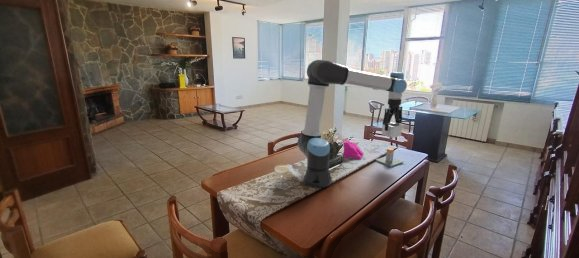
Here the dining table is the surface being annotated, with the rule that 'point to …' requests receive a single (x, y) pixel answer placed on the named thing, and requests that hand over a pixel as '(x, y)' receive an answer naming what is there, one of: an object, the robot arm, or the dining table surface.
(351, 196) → the dining table surface
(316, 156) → the robot arm
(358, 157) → the magenta faceted rock
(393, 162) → the keeper
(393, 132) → the white hollow square block
